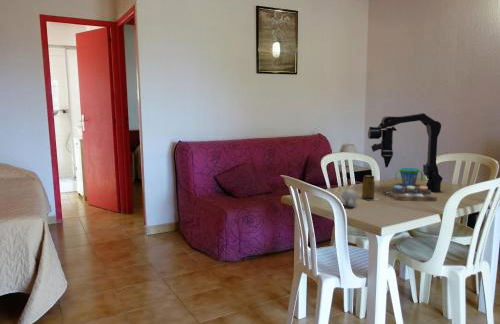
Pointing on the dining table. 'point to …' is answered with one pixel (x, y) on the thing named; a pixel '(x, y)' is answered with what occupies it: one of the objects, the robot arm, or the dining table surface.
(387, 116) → the robot arm
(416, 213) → the dining table surface
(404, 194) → the console
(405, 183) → the snack cup
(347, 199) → the round bodied animal figurine
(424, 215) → the dining table surface
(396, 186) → the slate blue button
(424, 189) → the terracotta button
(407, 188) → the sage button
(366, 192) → the condiment
